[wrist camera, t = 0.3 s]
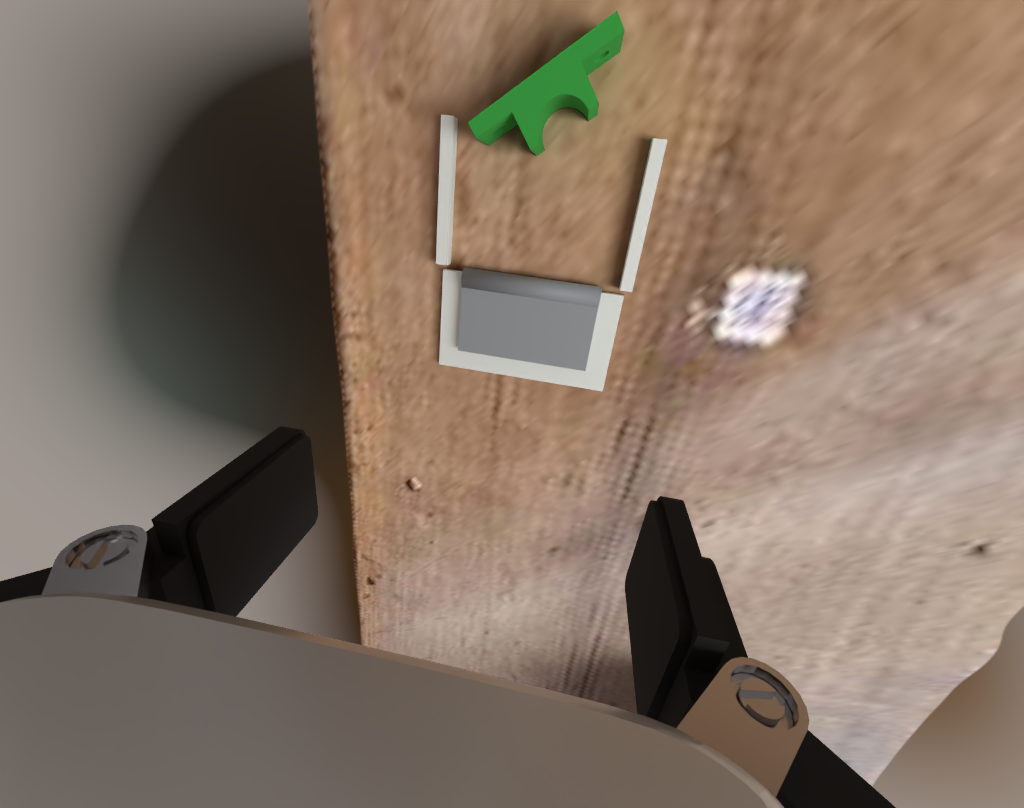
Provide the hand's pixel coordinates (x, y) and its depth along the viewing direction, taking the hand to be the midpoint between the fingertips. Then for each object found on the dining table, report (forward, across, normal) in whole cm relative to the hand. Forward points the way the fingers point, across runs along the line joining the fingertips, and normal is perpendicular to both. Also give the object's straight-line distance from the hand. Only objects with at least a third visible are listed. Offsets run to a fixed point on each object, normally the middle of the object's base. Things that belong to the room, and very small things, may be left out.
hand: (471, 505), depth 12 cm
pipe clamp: (+30, +2, -14) cm, 33 cm away
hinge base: (+30, +2, -2) cm, 30 cm away
